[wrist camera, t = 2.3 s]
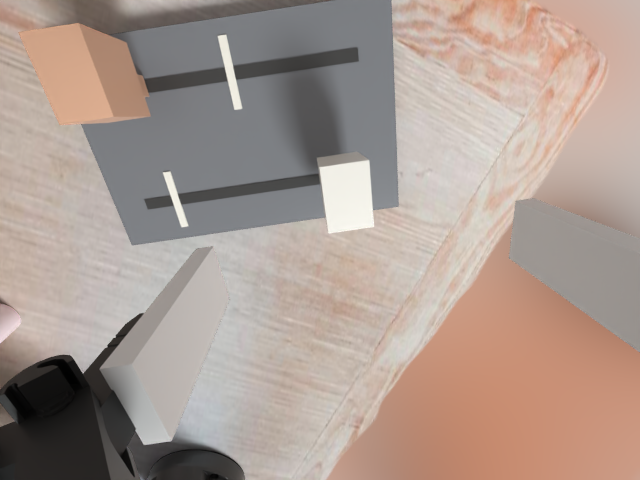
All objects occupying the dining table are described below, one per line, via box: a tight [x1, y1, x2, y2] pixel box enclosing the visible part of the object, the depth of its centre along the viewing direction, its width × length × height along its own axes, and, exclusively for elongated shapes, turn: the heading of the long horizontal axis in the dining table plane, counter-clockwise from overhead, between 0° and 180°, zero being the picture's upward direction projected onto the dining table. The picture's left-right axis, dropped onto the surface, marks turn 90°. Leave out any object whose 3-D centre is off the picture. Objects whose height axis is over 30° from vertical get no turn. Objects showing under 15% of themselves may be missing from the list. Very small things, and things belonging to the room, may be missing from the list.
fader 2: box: [317, 152, 374, 233], centre depth 25 cm, size 5×4×8 cm
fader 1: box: [18, 23, 151, 125], centre depth 22 cm, size 5×4×8 cm
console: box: [81, 0, 399, 245], centre depth 28 cm, size 18×28×2 cm, turn 98°
